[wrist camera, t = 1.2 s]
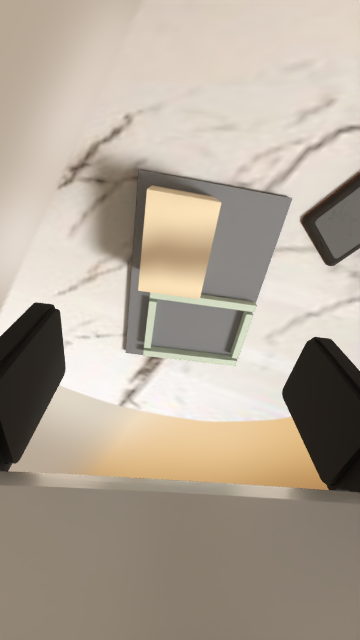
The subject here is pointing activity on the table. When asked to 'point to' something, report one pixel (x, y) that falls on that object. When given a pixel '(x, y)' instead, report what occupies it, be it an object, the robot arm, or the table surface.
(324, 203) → the phone
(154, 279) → the card box
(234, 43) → the table surface
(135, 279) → the mat
